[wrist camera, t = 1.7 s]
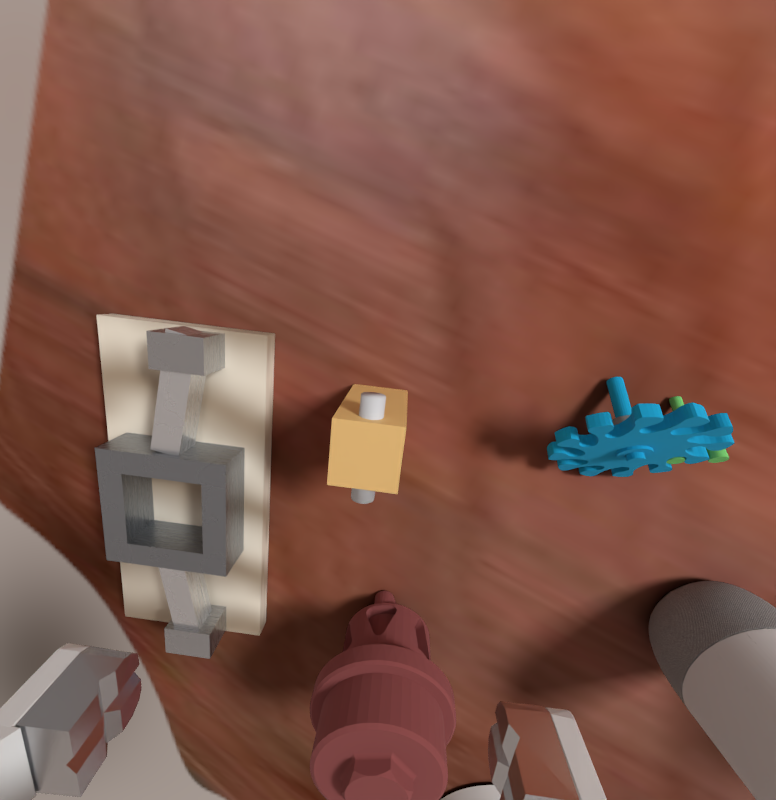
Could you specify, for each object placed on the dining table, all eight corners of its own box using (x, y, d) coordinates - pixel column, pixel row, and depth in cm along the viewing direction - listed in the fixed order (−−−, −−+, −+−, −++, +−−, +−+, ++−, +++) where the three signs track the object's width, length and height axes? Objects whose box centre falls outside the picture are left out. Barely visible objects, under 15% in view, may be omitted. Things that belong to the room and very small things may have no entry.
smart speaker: (707, 546, 30) (951, 753, 16) (779, 613, 31) (1061, 857, 18) (611, 615, 32) (755, 848, 19) (681, 675, 33) (865, 934, 20)
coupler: (399, 455, 29) (394, 512, 22) (348, 448, 29) (325, 503, 22) (409, 374, 28) (409, 406, 20) (355, 368, 28) (333, 396, 20)
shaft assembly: (242, 633, 33) (226, 666, 30) (141, 618, 33) (116, 649, 30) (245, 332, 26) (225, 337, 23) (117, 316, 26) (81, 319, 23)
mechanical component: (343, 667, 35) (323, 577, 33) (451, 661, 34) (439, 568, 32) (309, 855, 23) (273, 738, 21) (472, 854, 23) (455, 731, 20)
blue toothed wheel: (522, 475, 27) (619, 415, 19) (514, 403, 30) (595, 322, 22) (659, 492, 29) (810, 443, 20) (639, 422, 32) (763, 352, 23)
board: (265, 621, 34) (259, 635, 33) (137, 602, 35) (125, 616, 33) (275, 333, 27) (267, 335, 26) (112, 313, 28) (96, 314, 26)
